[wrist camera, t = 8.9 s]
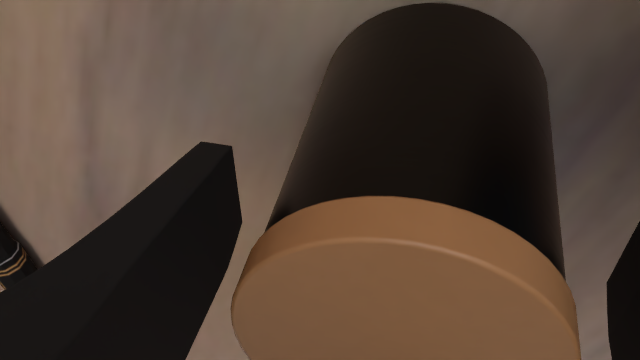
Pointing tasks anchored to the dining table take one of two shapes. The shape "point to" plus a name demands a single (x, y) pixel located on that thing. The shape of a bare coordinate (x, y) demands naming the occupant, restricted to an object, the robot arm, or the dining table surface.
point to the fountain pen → (13, 260)
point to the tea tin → (417, 205)
